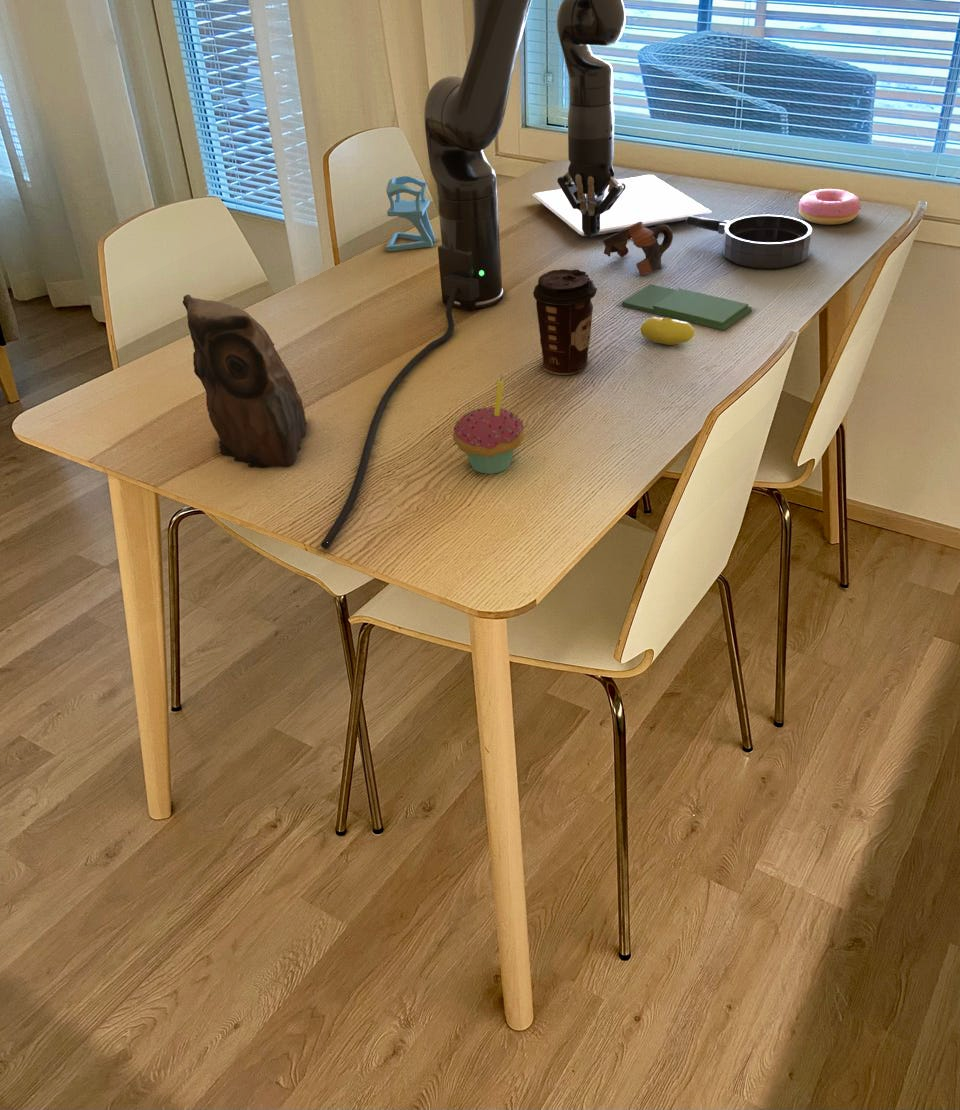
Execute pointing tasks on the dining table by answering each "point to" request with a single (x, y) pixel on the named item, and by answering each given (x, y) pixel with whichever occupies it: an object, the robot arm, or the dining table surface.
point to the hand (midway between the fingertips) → (591, 234)
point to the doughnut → (829, 206)
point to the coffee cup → (564, 319)
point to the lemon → (666, 330)
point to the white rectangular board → (630, 206)
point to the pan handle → (707, 223)
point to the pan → (767, 241)
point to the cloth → (688, 306)
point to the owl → (245, 385)
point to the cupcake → (489, 436)
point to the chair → (410, 213)
